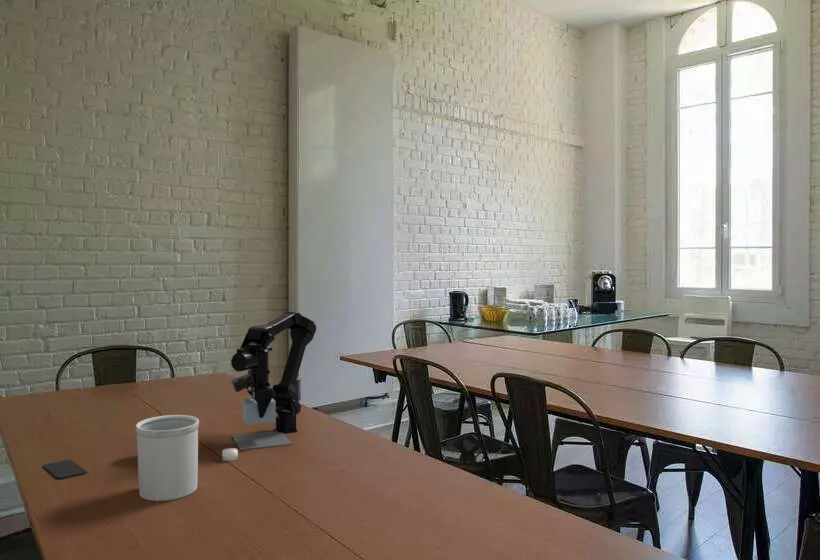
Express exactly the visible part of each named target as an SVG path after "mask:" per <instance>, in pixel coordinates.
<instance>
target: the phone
mask: <svg viewBox="0 0 820 560" xmlns="http://www.w3.org/2000/svg"><path fill="white" fill-rule="evenodd" d="M42 467H43V468H44V469H45V470H46V471H47V472H48V473H49V474H51V476H53V477H54V478H55V479H56V480H59V481H60V480H61V481H62V480H66V479H71V478H75V477H80V476H85V475H87V474H88V471H87V470H86V469H85V468H83V467H82V466H80V465H79V464H77V463H76V462H75V461H73V460H71V459H65V460H59V461H55V462H50V463H46V464H43V466H42Z"/></svg>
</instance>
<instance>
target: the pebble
mask: <svg viewBox="0 0 820 560" xmlns="http://www.w3.org/2000/svg"><path fill="white" fill-rule="evenodd" d="M238 456H239V448H235V447H229V448H224V449H222V452H221V461H223V462H234V461H237V460H238V459H239V457H238Z"/></svg>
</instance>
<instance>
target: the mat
mask: <svg viewBox="0 0 820 560" xmlns="http://www.w3.org/2000/svg"><path fill="white" fill-rule="evenodd" d="M231 437H232V439H233V440H234V442H235V445H236V446H237V449H238V450H239V451H247V450H249V451H250V450H256V449H266V448H267V449H268V448H275V447H276V448H277V447H284V446H285V447H286V446H292V445H293V443H292V441H291V440H290V439H289V438H288V437H287V436H286V435H285V433H283V432H280V433H279V432H278V431H276V430H275V431H274V430H273V431H264V432H263V431H262V432H254V433H253V432H252V433H242V434H241V433H240V434H234V435H231Z"/></svg>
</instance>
